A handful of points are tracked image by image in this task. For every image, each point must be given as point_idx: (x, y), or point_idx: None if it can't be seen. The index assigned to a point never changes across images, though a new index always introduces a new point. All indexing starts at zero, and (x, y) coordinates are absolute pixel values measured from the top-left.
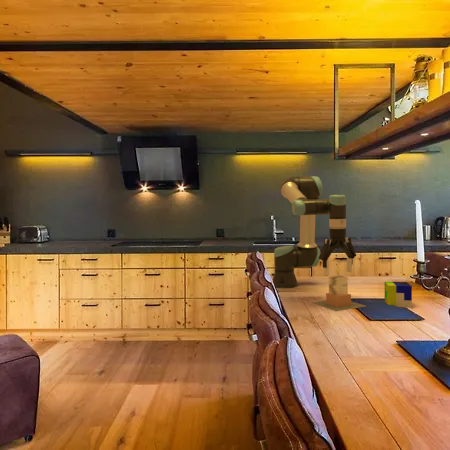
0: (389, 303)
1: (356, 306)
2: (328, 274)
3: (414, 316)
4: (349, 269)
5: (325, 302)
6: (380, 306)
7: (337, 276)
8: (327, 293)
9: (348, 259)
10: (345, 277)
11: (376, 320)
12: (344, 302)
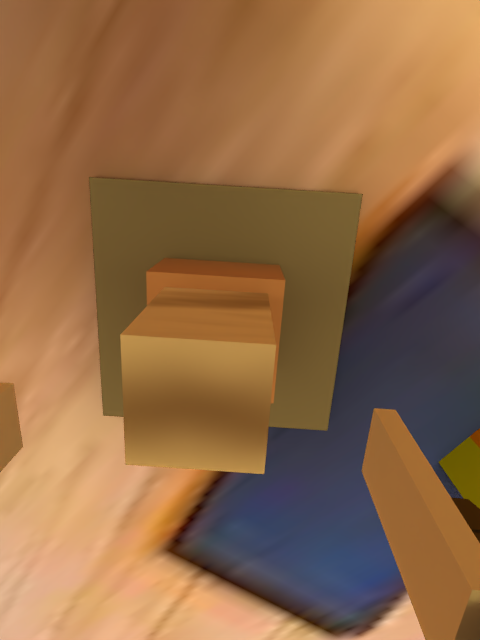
0: (450, 478)
1: (270, 406)
2: (15, 450)
3: (370, 602)
4: (374, 479)
5: (181, 230)
6: (415, 434)
7: (202, 394)
8: (149, 286)
9: (442, 608)
10: (236, 471)
11: (189, 563)
12: None
